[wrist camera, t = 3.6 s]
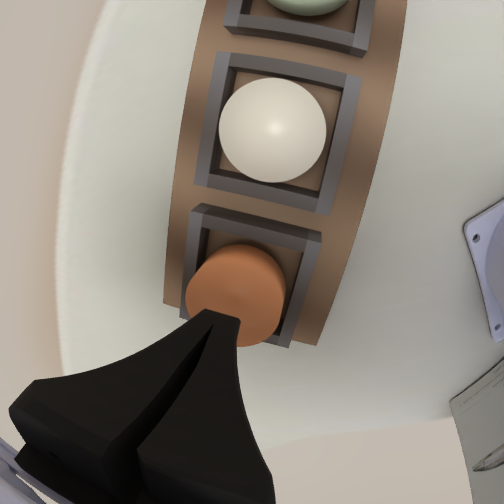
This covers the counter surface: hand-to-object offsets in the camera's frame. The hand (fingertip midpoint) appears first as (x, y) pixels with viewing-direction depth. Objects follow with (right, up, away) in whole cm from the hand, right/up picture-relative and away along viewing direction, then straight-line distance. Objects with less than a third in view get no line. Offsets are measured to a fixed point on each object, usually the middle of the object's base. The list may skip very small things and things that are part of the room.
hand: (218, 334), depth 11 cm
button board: (+3, +9, +4) cm, 10 cm away
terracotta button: (+1, +1, +3) cm, 4 cm away
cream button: (+2, +8, +2) cm, 9 cm away
